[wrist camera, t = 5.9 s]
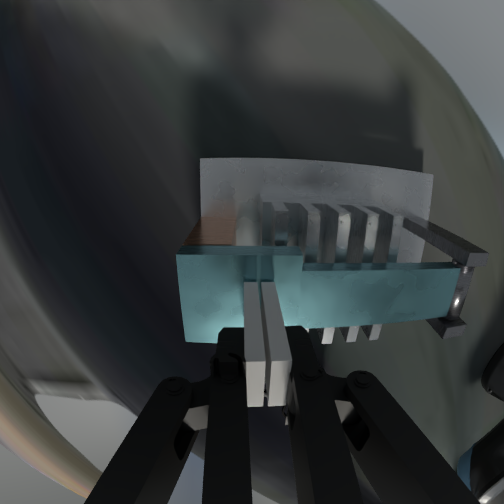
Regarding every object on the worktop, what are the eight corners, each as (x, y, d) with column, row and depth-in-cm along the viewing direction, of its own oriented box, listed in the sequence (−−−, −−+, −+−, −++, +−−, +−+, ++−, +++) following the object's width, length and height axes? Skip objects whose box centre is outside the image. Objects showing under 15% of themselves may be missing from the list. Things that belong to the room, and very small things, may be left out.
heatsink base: (422, 172, 25) (505, 193, 13) (399, 309, 30) (449, 373, 19) (203, 158, 24) (167, 163, 13) (209, 314, 30) (192, 399, 18)
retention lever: (466, 248, 17) (481, 257, 16) (448, 314, 19) (460, 326, 18) (182, 244, 17) (175, 255, 15) (190, 326, 19) (185, 343, 17)
